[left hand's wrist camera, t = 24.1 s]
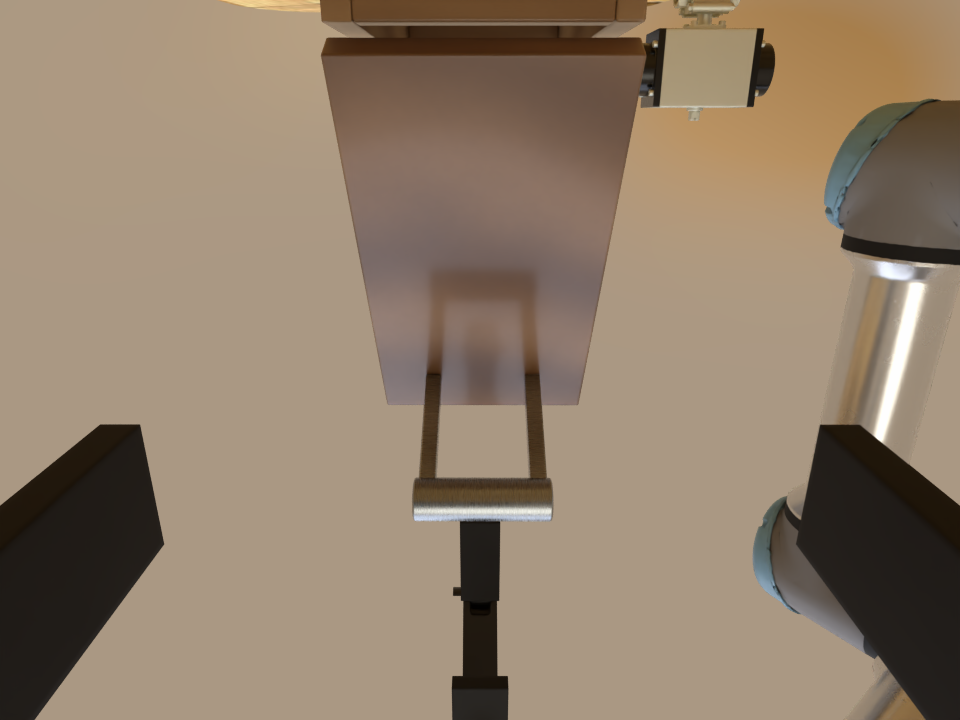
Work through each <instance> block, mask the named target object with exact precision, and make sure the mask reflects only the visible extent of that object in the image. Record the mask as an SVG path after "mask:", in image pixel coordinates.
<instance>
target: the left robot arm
mask: <svg viewBox="0 0 960 720" xmlns="http://www.w3.org/2000/svg"><path fill="white" fill-rule="evenodd" d="M163 545H164V541H163V536H162V531H161V526H160V521H159V516H158V511H157V506H156V501H155V496H154V491H153V486H152V481H151V477H150V472H149V467H148V462H147V457H146V452H145V447H144V442H143V437H142V432H141V427H140V425H99V426H98V427H97V428H95V429H94V430H93V431H92V432H91V433H89V434H88V435H87V436H86V437H84V438H83V439H82V440H81V441H79V442H78V443H77V444H76V445H75V446H73V447H72V448H71V449H70V450H68V451H67V452H66V453H65V454H63V455H62V456H61V457H60V458H58V459H57V460H56V461H55V462H53V463H52V464H51V465H50V466H49V467H47V468H46V469H45V470H44V471H42V472H41V473H40V474H39V475H37V476H36V477H35V478H34V479H33V480H31V481H30V482H29V483H28V484H26V485H25V486H24V487H23V488H21V489H20V490H19V491H18V492H17V493H15V494H14V495H13V496H12V497H10V498H9V499H8V500H7V501H5V502H4V503H3V504H2V505H0V720H35V718H36V717H37V716H38V714H39V713H40V712H41V710H42V709H43V708H44V706H45V705H46V703H47V702H48V701H49V699H50V698H51V697H52V695H53V694H54V693H55V691H56V690H57V689H58V687H59V686H60V685H61V683H62V682H63V681H64V679H65V678H66V676H67V675H68V674H69V672H70V671H71V670H72V668H73V667H74V666H75V664H76V663H77V662H78V660H79V659H80V658H81V656H82V655H83V653H84V652H85V651H86V649H87V648H88V647H89V645H90V644H91V643H92V641H93V640H94V639H95V637H96V636H97V634H98V633H99V632H100V630H101V629H102V628H103V626H104V625H105V624H106V622H107V621H108V620H109V618H110V617H111V615H112V614H113V613H114V611H115V610H116V609H117V607H118V606H119V605H120V603H121V602H122V601H123V599H124V598H125V597H126V595H127V594H128V592H129V591H130V590H131V588H132V587H133V586H134V584H135V583H136V582H137V580H138V579H139V578H140V576H141V575H142V574H143V572H144V571H145V569H146V568H147V567H148V565H149V564H150V563H151V561H152V560H153V559H154V557H155V556H156V555H157V553H158V552H159V551H160V549H161V548H162V546H163ZM796 545H797V547H798V548H799V549H800V551H801V552H802V553H803V555H804V556H805V557H806V559H807V560H808V561H809V563H810V564H811V565H812V567H813V568H814V570H815V571H816V572H817V574H818V575H819V576H820V578H821V579H822V580H823V582H824V583H825V584H826V586H827V587H828V588H829V590H830V591H831V593H832V594H833V595H834V597H835V598H836V599H837V601H838V602H839V603H840V605H841V606H842V607H843V609H844V610H845V612H846V613H847V614H848V616H849V617H850V618H851V620H852V621H853V622H854V624H855V625H856V626H857V628H858V629H859V630H860V632H861V633H862V635H863V636H864V637H865V639H866V640H867V641H868V643H869V644H870V645H871V647H872V648H873V649H874V651H875V652H876V653H877V655H878V656H879V658H880V659H881V660H882V662H883V663H884V664H885V666H886V667H887V668H888V670H889V671H890V672H891V674H892V675H893V676H894V678H895V679H896V681H897V682H898V683H899V685H900V686H901V687H902V689H903V690H904V691H905V693H906V694H907V695H908V697H909V698H910V699H911V701H912V702H913V704H914V705H915V706H916V708H917V709H918V710H919V712H920V713H921V714H922V716H923V717H924V718H925V720H960V505H958V504H957V503H956V502H955V501H953V500H952V499H951V498H950V497H948V496H947V495H946V494H945V493H944V492H942V491H941V490H940V489H939V488H937V487H936V486H935V485H934V484H932V483H931V482H930V481H929V480H927V479H926V478H925V477H924V476H923V475H921V474H920V473H919V472H918V471H916V470H915V469H914V468H913V467H911V466H910V465H909V464H908V463H907V462H905V461H904V460H903V459H902V458H900V457H899V456H898V455H897V454H895V453H894V452H893V451H892V450H890V449H889V448H888V447H887V446H886V445H884V444H883V443H882V442H881V441H879V440H878V439H877V438H876V437H874V436H873V435H872V434H871V433H869V432H868V431H867V430H866V429H865V428H863V427H862V426H861V425H820V427H819V432H818V437H817V442H816V447H815V452H814V457H813V462H812V467H811V472H810V477H809V481H808V486H807V491H806V496H805V501H804V506H803V511H802V516H801V521H800V526H799V531H798V536H797V541H796Z"/></svg>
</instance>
